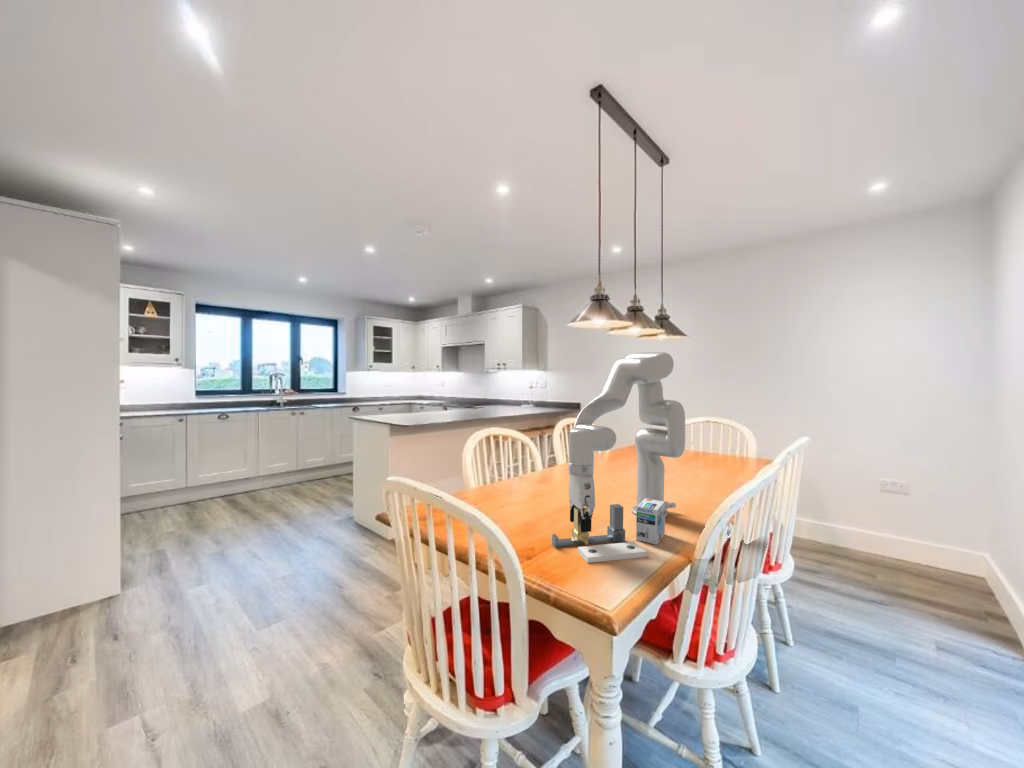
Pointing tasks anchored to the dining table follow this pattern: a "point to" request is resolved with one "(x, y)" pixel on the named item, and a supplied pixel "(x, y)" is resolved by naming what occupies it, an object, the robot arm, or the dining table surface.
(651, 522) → the light bulb box
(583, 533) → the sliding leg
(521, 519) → the dining table surface
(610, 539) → the rail
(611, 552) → the hole plate
